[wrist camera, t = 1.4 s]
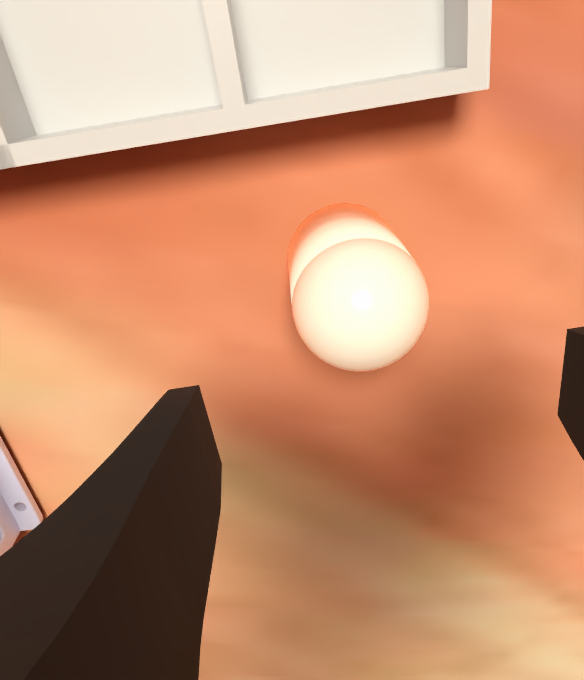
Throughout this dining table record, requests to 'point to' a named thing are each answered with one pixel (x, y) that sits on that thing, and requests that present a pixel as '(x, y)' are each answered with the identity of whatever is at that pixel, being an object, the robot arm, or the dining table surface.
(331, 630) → the dining table surface
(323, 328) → the cream egg
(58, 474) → the dining table surface
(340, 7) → the egg carton
